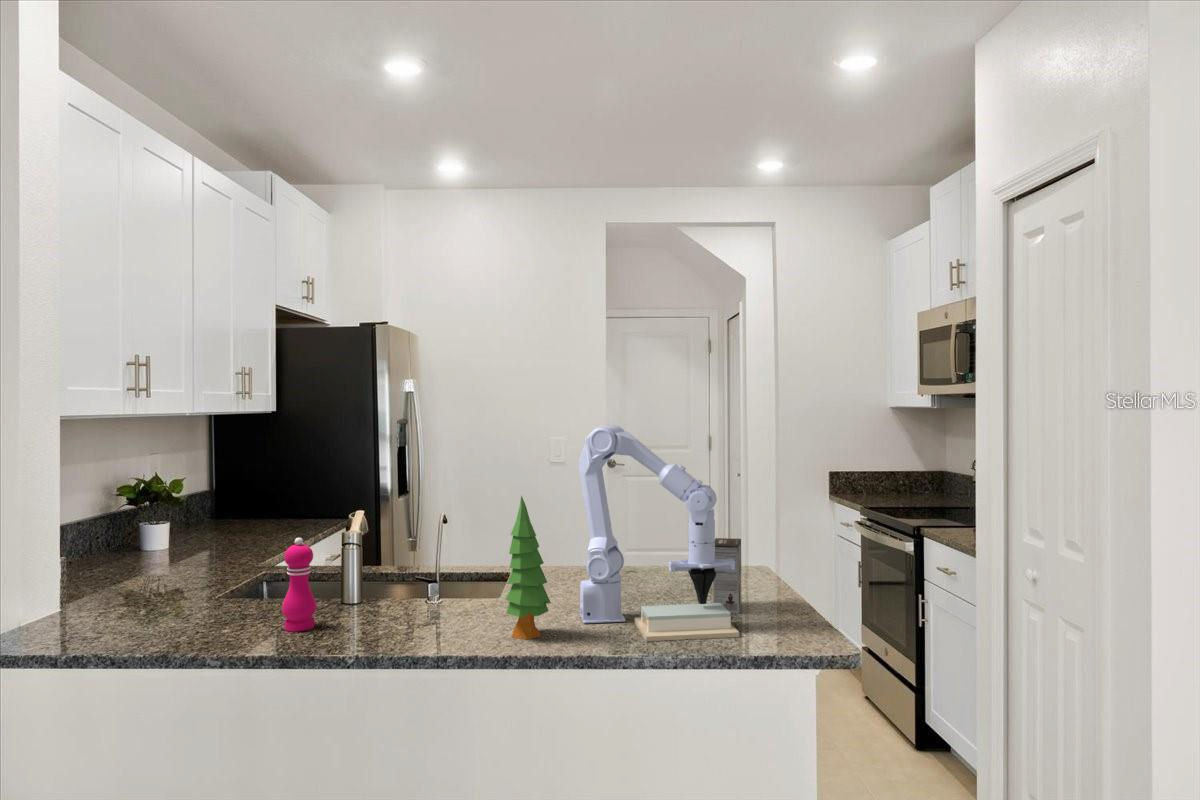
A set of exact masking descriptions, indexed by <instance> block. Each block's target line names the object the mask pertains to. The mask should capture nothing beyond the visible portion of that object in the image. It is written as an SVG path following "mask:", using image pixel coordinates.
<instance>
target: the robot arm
mask: <svg viewBox="0 0 1200 800" xmlns="http://www.w3.org/2000/svg"><path fill="white" fill-rule="evenodd" d="M614 455H616V456H629V457H631V458H633V459H634V460H635V461H637V462H638V463H639V464H641V465H642V466H644V467H645V468H647V469H648V470H649V471H651V472H652V473H654V474H655V475H656V476H658V478H659V484H660V486H662V487H663V488H664V489H666V490H667V491H668V492H669V493H671V494H672V495H673V496H675V497H676V498H677V499H679V501H681V502H682V503H683V502H684V503H685V507H686V508H687V510H688V514H689V515H688V517H689V519H688V559H684V560H673V561H671V560H670V561H668V571H669V572H670V573H676V572H688V575H689V576H690V579H691V580H692V581H691V582H692V584H693V587H694V589H695V593H696V598H697V599H696V600H697V604H706V603H707V601H708V596H709V593H710V589H711V587H712V586H713V581H714V579H715V577H716V572H715V570H719V569H730V570H735V561H734V560H733V559H715V538H716V531H715V530H716V526H715V525H716V522H715V509H714V507H715V506H716V504H717V494H716V491H714V489H713V488H712V487H711V485H708V484H703V481H702V480H701V479H698V480H697V478H695V477H694V476H692V475H691V474H689V473H688V472H687V471H685V470H686V467H685V466H684V465H682V464H681V465H678V464H676V463H672V464H667V463H666V462H665V461H664V460H663V459H662V458H660V457H659V456H658V455H657V454H656V453H654V452H653V451H652V450H651V449H650V448H648V447H647V446H646V445H645V444H644V443H643V442H641V441H640V439H638V438H637V437H635V436H634V435H633V434H632V433H630V432H629V431H626V430H624V429H623V428H622V427H621V426H619V425H616V424H610V425H608V426H598V427H595V428H594V429H593V430H592V431H591V432H590V433H589V434H588V435H587V436H586V437H585V440H584V446H583V449H582V451H581V455H580V458H579V460H578V470H579V475H580V477H579V478H580V482H581V489H582V495H583V501H584V507H585V508H584V509H585V515H586V519H587V520H586V521H587V527H588V533H589V539H590V540H589V543H588V548H587V556H588V557H587V561H586V563H585V565H586V566H585V568H586V573H587V575H588V576H589V579H587V580H584V579H583V580H581V581H580V583H579V584H580V587H579V593H580V594H579V600H580V601H579V615H580V617H581V620H582V622H583V624H601V623H605V624H606V623H622V622H626V617H625V616H624V615H623V613H622V576H621V573H620V571H621V570H622V568H624V564H625V559H624V554H623V553H622V551H621V550H620V548H619V545H618V541H617V539H616V538H615V536H614V534H613V530H612V529H613V528H612V522H611V517H610V516H611V515H610V510H609V504H608V498H607V491H606V490H607V489H606V485H605V484H606V483H605V478H604V473H603V471H604V470H603V468H604V466H605V465H606V463H608V461H609V460H610V458H611V457H612V456H614Z"/></svg>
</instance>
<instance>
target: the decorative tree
mask: <svg viewBox="0 0 1200 800" xmlns="http://www.w3.org/2000/svg"><path fill="white" fill-rule="evenodd" d="M510 536H512V537H511V538H512V539H511V543H510V547H509V553H508V555H511V560H510V565H509V569H512V570H511V573H510V575H509V578H508V580H507V583H506V585H511V587H510V589H509V591H508V593H507V595H506V598H505V601H507V602H509V604H508V606H507V609H506V612H505V613H506V615H507V614H508V615H511V616H514V617H518V619H517V622H516V624H515V625H514V628H513V631H512V634H511V638H514V639H522V640H533V639H535V638H540V637H542V634H541V633H540V631H539V630H538V628H537V627H536V624H535V623H536V622H535V617H539V616H542V615H544V614H545V613H548V612H549V608H548V606H547V604H550V603H551V600H550V598H549V596H548V594H547V591H546V589H545V586H544V584H546V583H548V581H547V578H546V575H545V574H544V571H543V569H542V567H541V565H543V564H545V562H544V560H543V558H542V555H541V553H540V552H539V547H540V544H539V542H538V540H537V534H536V532H535V529H534V527H533V525H532V522H531V519H530V516H529V512H528V508H527V505H526V503H525V500H524V498H523V496H522V495H520V501H519V508H518V511H517V515H516V520H515V523H514V525H513V527H512V530H511V533H510Z"/></svg>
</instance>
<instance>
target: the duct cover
mask: <svg viewBox="0 0 1200 800" xmlns="http://www.w3.org/2000/svg"><path fill="white" fill-rule="evenodd" d="M640 607H641V608H640V609H641V610H642V612H643V613H644V615H645V616H646V618H647V619H648V620H669V619H692V618H715V617H731V614H732V613H730V612H729V611H728V610H727V609H726V608H725V607H724V606H723V605H722V604H721V603H713V602H709V603H707V602H706V604H699V603H687V604H685V603H684V604H680V603H679V604H661V605H660V604H659V605H658V604H656V605H641V606H640ZM641 610H640V611H641Z"/></svg>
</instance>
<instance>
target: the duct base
mask: <svg viewBox="0 0 1200 800" xmlns="http://www.w3.org/2000/svg"><path fill="white" fill-rule="evenodd" d="M640 611H641V613H640V616H639V617H634V620H633V621H634V624H635V625H636V627H637V629H638V628H639V629H638V631H639V632H640V633H641V635H642V637H643V639H644V640H645V641H646V642H664V641H665V640H666V641H684V640H686V639H688V640H704V639H705V640H706V639H708V640H709V639H726V638H728V639H729V638H740V631H739V630H738V629H737V628H736V627H734V625H732V623H731V617H715V618H692V619H669V620H648V619H647V618H646V616H645V615H644V613H643V612H642V610H640Z"/></svg>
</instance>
